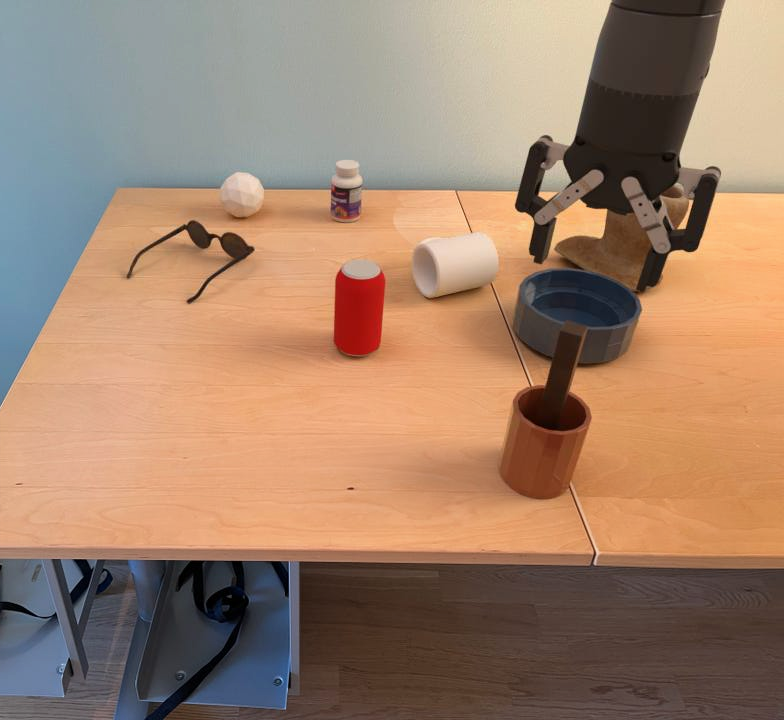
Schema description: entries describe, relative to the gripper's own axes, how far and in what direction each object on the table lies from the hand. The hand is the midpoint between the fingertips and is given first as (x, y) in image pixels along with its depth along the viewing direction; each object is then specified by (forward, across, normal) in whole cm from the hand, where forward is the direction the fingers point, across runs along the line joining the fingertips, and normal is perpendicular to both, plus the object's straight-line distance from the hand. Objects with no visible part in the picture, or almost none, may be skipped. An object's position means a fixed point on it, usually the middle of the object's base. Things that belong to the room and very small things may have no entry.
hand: (589, 273), depth 60 cm
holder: (+24, 0, 0) cm, 24 cm away
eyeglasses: (+25, -59, +14) cm, 65 cm away
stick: (+24, 0, 0) cm, 24 cm away
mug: (+24, -24, +32) cm, 47 cm away
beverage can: (+24, -27, +10) cm, 38 cm away
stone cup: (+24, -3, +49) cm, 55 cm away
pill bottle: (+25, -48, +44) cm, 70 cm away
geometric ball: (+25, -64, +35) cm, 77 cm away
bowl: (+24, -4, +28) cm, 37 cm away
